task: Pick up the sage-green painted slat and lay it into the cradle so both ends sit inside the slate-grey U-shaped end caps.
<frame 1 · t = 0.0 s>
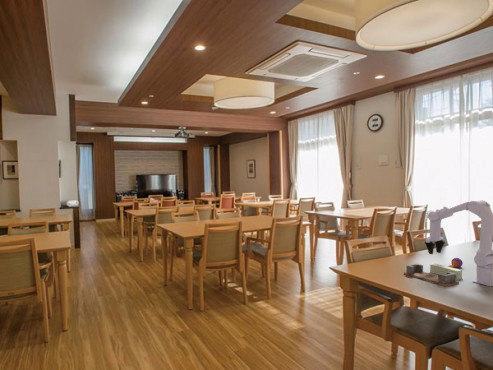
hand: (434, 253, 203), 10 cm above the table, tool pointing down, fingers open, 7 cm apart
kendama: (453, 269, 205), on the table
slat: (445, 275, 192), on the table
cradle: (430, 278, 186), on the table
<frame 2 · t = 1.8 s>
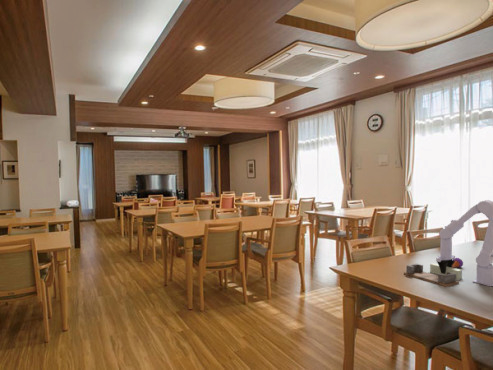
hand: (445, 272, 192), 1 cm above the table, tool pointing down, fingers closed on slat, 4 cm apart
slat: (445, 275, 192), on the table, touching gripper
everything else where it was.
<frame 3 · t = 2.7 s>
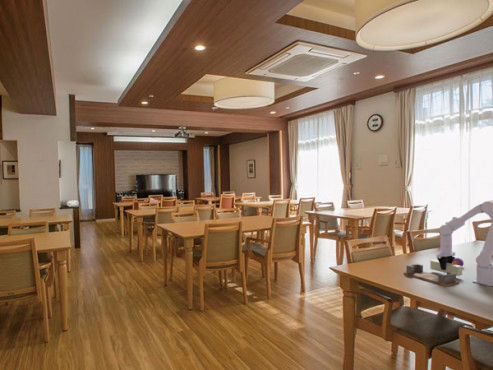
hand: (445, 269, 192), 4 cm above the table, tool pointing down, fingers closed on slat, 4 cm apart
slat: (445, 271, 192), point 2 cm above the table, touching gripper
everything else where it was.
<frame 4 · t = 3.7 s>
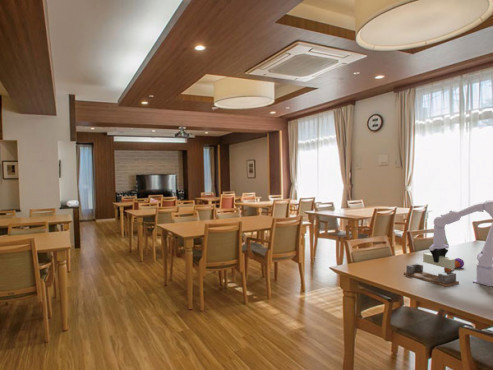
hand: (438, 261, 189), 8 cm above the table, tool pointing down, fingers closed on slat, 4 cm apart
slat: (438, 265, 190), point 7 cm above the table, touching gripper
everything else where it was.
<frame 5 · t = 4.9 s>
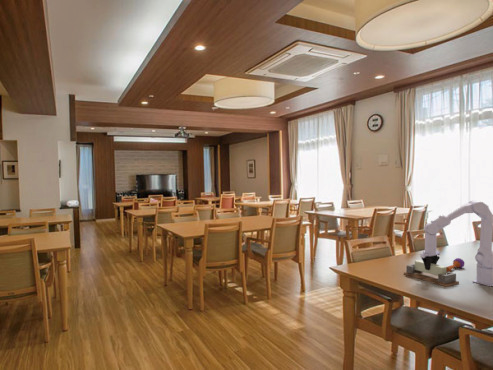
hand: (430, 269, 186), 5 cm above the table, tool pointing down, fingers closed on slat, 4 cm apart
slat: (429, 272, 186), point 3 cm above the table, touching gripper
everything else where it was.
when the fingers open (4 cm above the table, at t = 5.6 s): slat stays where it is, resting on cradle.
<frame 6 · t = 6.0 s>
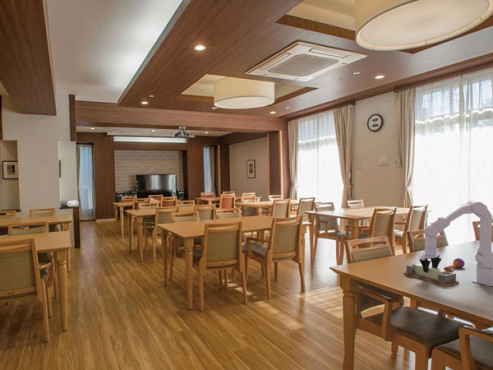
hand: (430, 271, 186), 4 cm above the table, tool pointing down, fingers open, 7 cm apart
slat: (429, 276, 186), point 1 cm above the table, touching cradle
everything else where it was.
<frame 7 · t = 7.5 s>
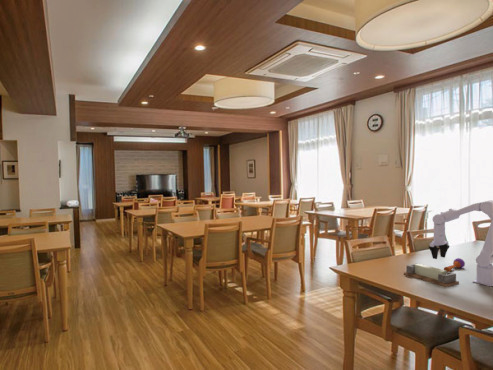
hand: (438, 257, 195), 9 cm above the table, tool pointing down, fingers open, 7 cm apart
nothing on the table moved.
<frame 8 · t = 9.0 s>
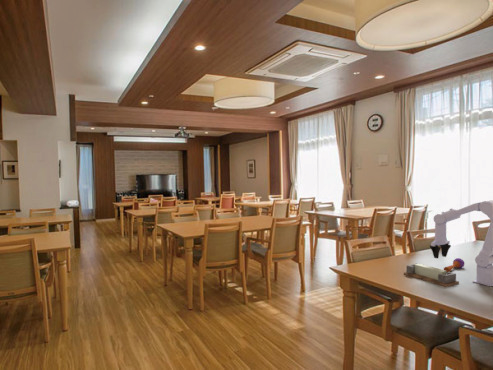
hand: (440, 257, 196), 9 cm above the table, tool pointing down, fingers open, 7 cm apart
nothing on the table moved.
at the end: slat 0.1 cm off-centre on the cradle, point 1.2 cm above the cradle's base; slat tilted 0°; the gripper is holding nothing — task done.
